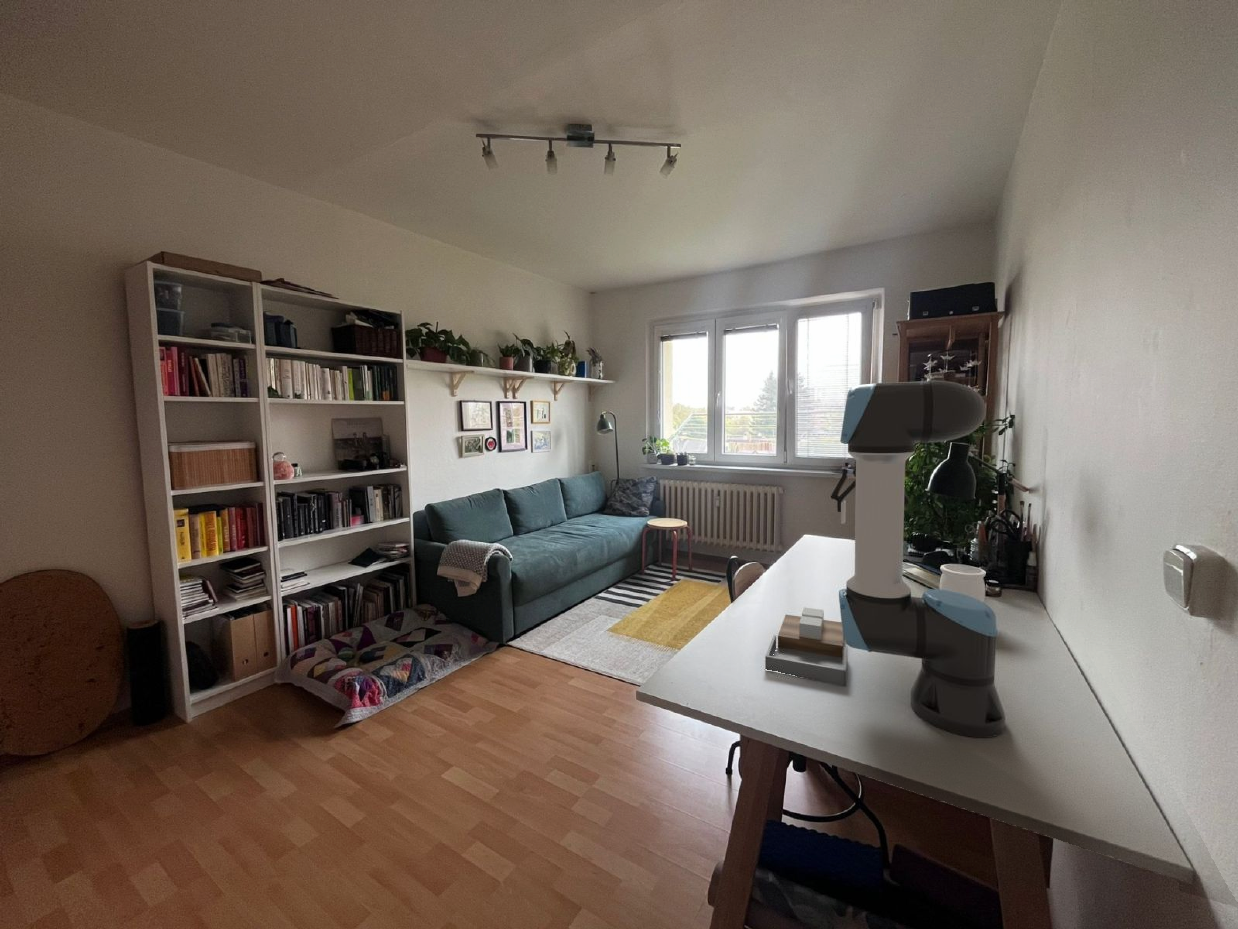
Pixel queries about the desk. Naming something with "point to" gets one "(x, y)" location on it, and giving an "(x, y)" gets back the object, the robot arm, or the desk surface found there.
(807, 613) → the tile
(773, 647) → the tray
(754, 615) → the desk surface
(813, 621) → the light grey block
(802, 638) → the board
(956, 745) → the desk surface
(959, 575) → the jar
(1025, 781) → the desk surface
